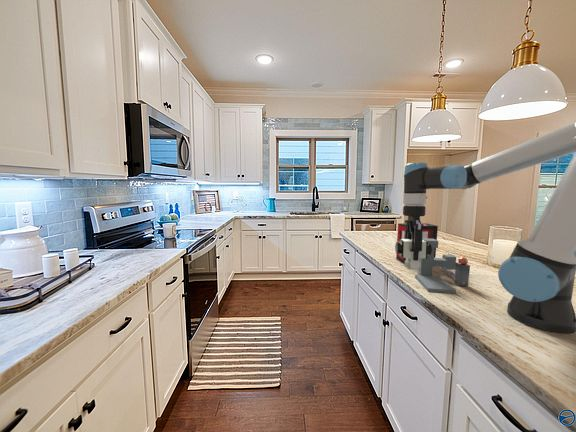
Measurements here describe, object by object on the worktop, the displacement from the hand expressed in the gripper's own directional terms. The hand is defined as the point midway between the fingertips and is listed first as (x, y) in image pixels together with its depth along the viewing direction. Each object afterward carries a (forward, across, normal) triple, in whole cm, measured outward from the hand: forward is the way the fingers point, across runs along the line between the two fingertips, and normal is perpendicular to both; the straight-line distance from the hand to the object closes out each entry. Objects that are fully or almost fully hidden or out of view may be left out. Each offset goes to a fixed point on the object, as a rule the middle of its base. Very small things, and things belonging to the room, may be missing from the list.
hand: (411, 266), depth 97 cm
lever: (+10, +19, -22) cm, 31 cm away
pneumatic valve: (+1, 0, 0) cm, 1 cm away
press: (+10, +13, -15) cm, 22 cm away
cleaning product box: (+9, +43, -14) cm, 46 cm away
